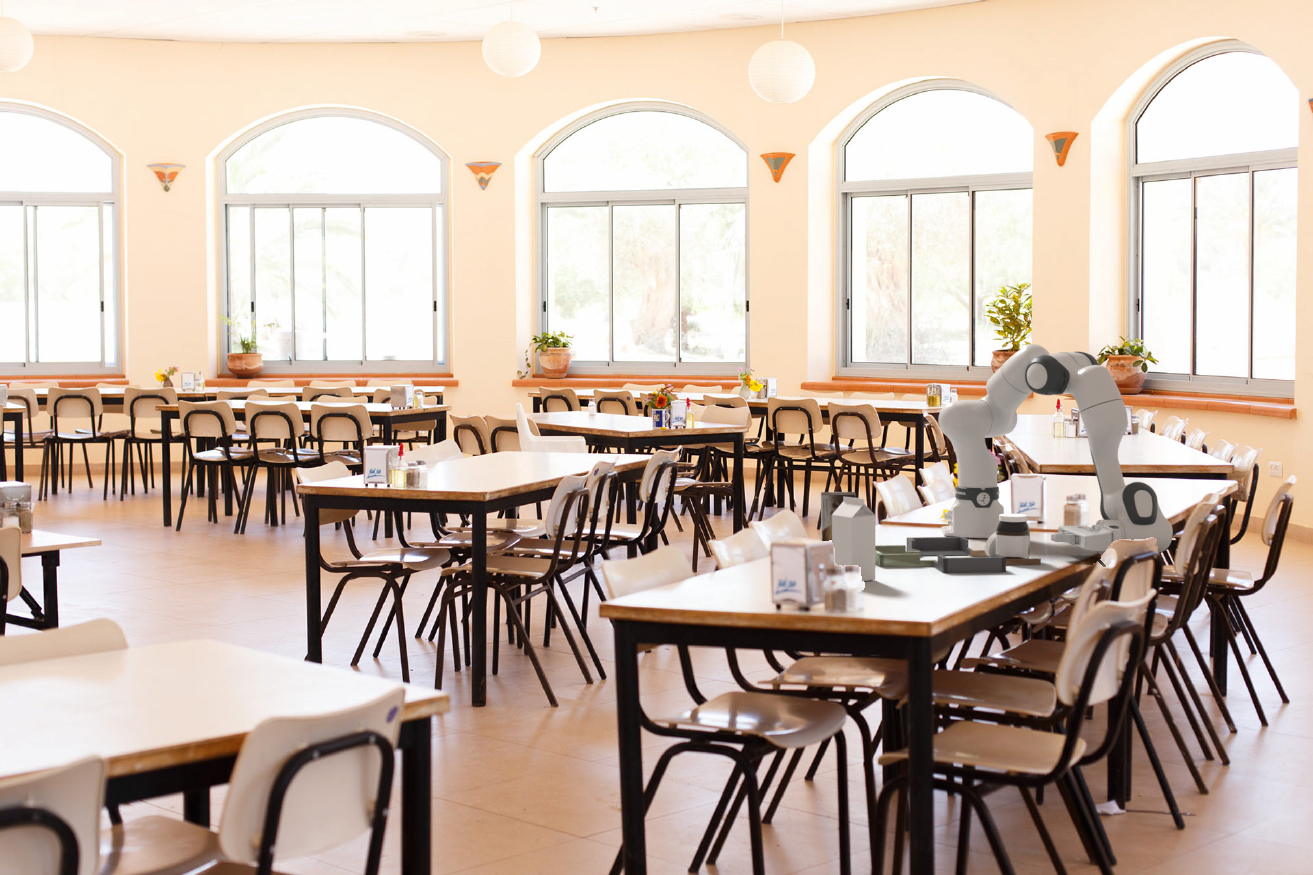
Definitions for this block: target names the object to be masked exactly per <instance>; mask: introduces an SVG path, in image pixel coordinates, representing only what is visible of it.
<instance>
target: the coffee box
mask: <svg viewBox="0 0 1313 875" xmlns="http://www.w3.org/2000/svg"><path fill="white" fill-rule="evenodd" d="M843 497H852V498H857V494H856V492H855V491H821V492H820V518H821V519H820V522H821V523H820V527H821V528H820V532H821V538H820V539H821V541H829V540H832V514H833V513H834V512H835V510H836V509H837V508H838V507H839V506H840V505H841V503H842V502H843Z"/></svg>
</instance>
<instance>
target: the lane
mask: <svg viewBox="0 0 1313 875" xmlns="http://www.w3.org/2000/svg"><path fill="white" fill-rule="evenodd" d="M921 557H922V556H921V551H907V545H905V544H899V545H898V544H896V545H895V544H893V545H891V544H890V545H889V544H887V545H886V544H885V545H881V544H880V545H879V544H878V545H876V544H875V566H878V567H879V568H891V567H892V568H893V567H894V568H896V567H897V568H903V567H933V566H932V561H935V560H936V559H921ZM969 557H989V556H988V555H987V554H986V553H985V549H984V550H983V549H981V550H978V549H976V550H974V549H972V550H970V556H969ZM1041 564H1042V559H1041V558H1029V559H1006V566H1038V565H1041Z"/></svg>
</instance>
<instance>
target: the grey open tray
mask: <svg viewBox="0 0 1313 875" xmlns="http://www.w3.org/2000/svg"><path fill="white" fill-rule="evenodd" d="M970 550H973V549H972V548H970V547H969V539H968V538H967V537H957V536H938V537H937V536H934V537H933V536H932V537H927V536H926V537H925V536H924V537H921V536H920V537H906V551H921V557H938V555H943V556H944V557H953V556H954V557H957V556H958V557H961V556H962V557H963V556H966V557H971V556H970Z"/></svg>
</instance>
